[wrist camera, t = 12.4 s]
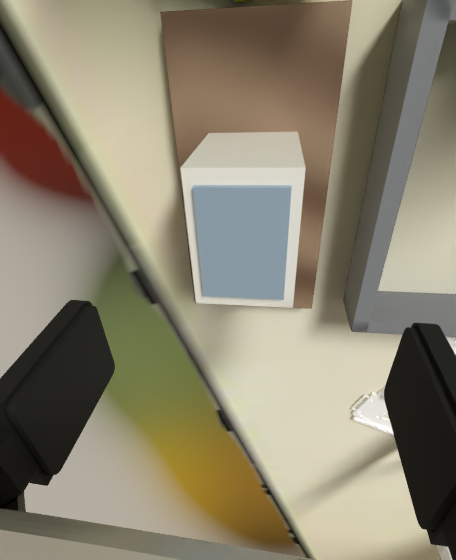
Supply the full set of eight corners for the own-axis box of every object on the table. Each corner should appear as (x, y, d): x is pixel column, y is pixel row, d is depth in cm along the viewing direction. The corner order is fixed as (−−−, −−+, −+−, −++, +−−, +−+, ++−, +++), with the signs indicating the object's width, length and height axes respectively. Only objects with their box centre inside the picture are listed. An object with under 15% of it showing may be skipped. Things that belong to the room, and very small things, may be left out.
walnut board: (310, 298, 26) (311, 308, 25) (197, 293, 28) (195, 302, 27) (348, 3, 16) (352, 0, 15) (167, 13, 17) (160, 11, 16)
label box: (297, 131, 19) (306, 170, 13) (289, 243, 23) (293, 311, 17) (208, 133, 19) (178, 170, 13) (215, 241, 23) (194, 306, 17)
